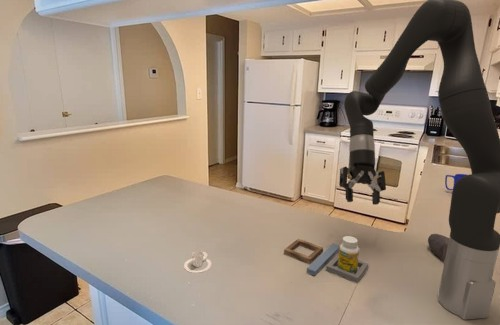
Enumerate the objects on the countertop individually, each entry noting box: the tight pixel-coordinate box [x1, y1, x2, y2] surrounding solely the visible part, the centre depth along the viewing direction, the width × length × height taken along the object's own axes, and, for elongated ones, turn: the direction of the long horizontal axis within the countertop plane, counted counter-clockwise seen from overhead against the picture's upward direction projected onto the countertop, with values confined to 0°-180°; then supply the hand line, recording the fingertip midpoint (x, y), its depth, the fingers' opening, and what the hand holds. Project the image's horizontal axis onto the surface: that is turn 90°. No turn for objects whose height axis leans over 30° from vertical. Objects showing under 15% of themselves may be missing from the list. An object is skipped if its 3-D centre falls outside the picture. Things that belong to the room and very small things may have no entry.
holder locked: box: [283, 238, 324, 265], centre depth 95 cm, size 9×9×2 cm
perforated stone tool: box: [427, 233, 449, 262], centre depth 93 cm, size 15×5×7 cm, turn 3°
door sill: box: [306, 243, 340, 277], centre depth 91 cm, size 18×2×2 cm, turn 142°
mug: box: [444, 173, 467, 191], centre depth 151 cm, size 8×12×10 cm
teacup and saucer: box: [183, 250, 212, 274], centre depth 88 cm, size 9×8×4 cm
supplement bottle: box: [337, 235, 360, 274], centre depth 86 cm, size 5×5×10 cm
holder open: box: [325, 252, 369, 284], centre depth 87 cm, size 9×9×2 cm
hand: (363, 203), depth 91 cm, fingers open, 8 cm apart
